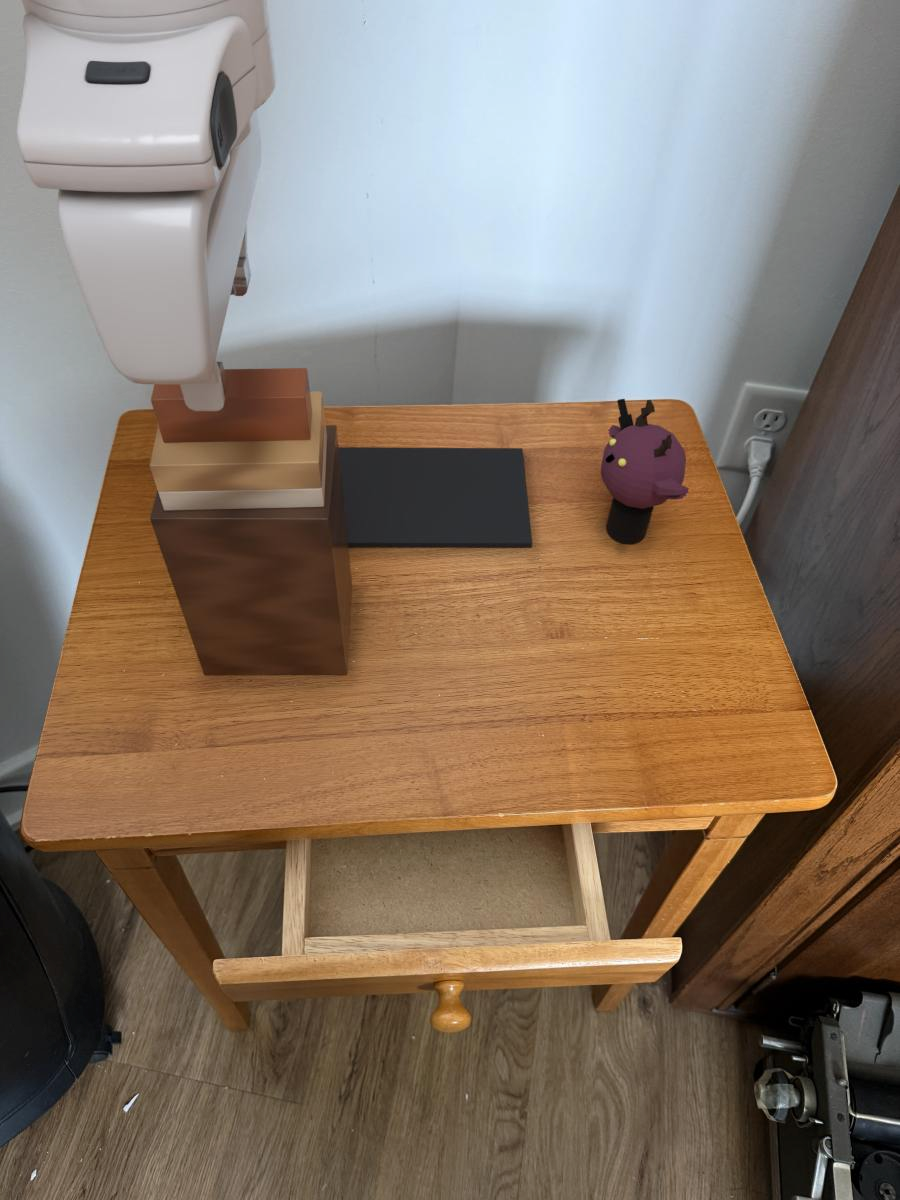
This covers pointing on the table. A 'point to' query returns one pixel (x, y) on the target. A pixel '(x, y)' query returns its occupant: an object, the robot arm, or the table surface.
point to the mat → (435, 497)
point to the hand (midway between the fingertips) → (222, 341)
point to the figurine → (640, 473)
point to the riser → (264, 582)
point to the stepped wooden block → (242, 444)
